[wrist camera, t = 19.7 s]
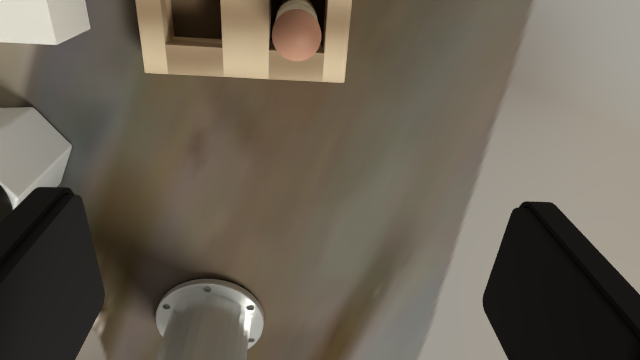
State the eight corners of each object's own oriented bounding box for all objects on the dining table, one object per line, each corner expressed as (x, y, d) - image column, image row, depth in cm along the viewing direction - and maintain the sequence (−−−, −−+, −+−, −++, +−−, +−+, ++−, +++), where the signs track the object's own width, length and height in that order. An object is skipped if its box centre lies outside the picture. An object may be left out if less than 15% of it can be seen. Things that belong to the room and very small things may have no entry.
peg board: (340, 72, 38) (344, 82, 36) (155, 62, 37) (145, 72, 35) (351, -42, 34) (355, -40, 31) (141, -57, 33) (127, -56, 30)
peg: (315, 37, 37) (319, 62, 30) (276, 35, 37) (271, 59, 30) (317, -5, 35) (323, 11, 28) (276, -7, 35) (272, 8, 28)
